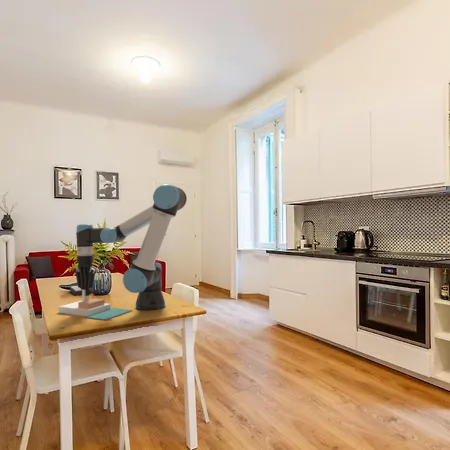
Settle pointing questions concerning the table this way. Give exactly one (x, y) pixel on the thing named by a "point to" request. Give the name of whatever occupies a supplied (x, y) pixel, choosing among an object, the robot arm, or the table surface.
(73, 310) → the panel
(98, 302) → the tile
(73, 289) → the calculator
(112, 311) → the mat
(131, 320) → the table surface
